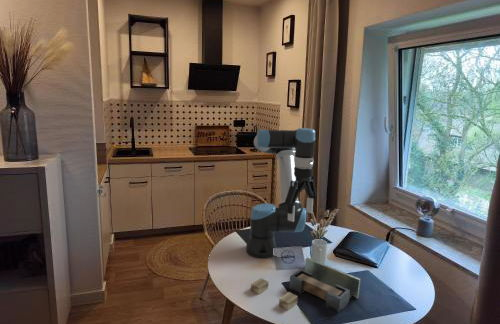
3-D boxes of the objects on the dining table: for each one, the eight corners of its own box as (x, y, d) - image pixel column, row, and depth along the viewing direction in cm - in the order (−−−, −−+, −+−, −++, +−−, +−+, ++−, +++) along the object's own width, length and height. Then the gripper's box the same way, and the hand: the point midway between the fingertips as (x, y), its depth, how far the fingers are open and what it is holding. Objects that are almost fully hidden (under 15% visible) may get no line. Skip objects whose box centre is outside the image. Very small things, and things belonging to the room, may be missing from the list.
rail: (296, 286, 141) (296, 277, 140) (301, 282, 144) (302, 273, 143) (336, 305, 129) (337, 295, 128) (341, 300, 132) (342, 291, 131)
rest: (250, 290, 139) (251, 283, 138) (260, 284, 143) (260, 277, 142) (287, 310, 127) (288, 303, 126) (297, 303, 131) (297, 296, 131)
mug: (309, 262, 162) (311, 238, 160) (324, 263, 162) (326, 239, 159) (310, 273, 153) (312, 248, 150) (326, 275, 152) (328, 249, 149)
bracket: (287, 287, 142) (288, 269, 140) (306, 274, 152) (307, 257, 150) (341, 313, 126) (343, 293, 124) (358, 297, 136) (360, 278, 135)
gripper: (293, 173, 130) (290, 227, 134) (327, 164, 148) (323, 211, 153) (277, 170, 135) (274, 221, 139) (312, 161, 153) (309, 207, 157)
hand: (300, 216), depth 146 cm, fingers open, 13 cm apart
